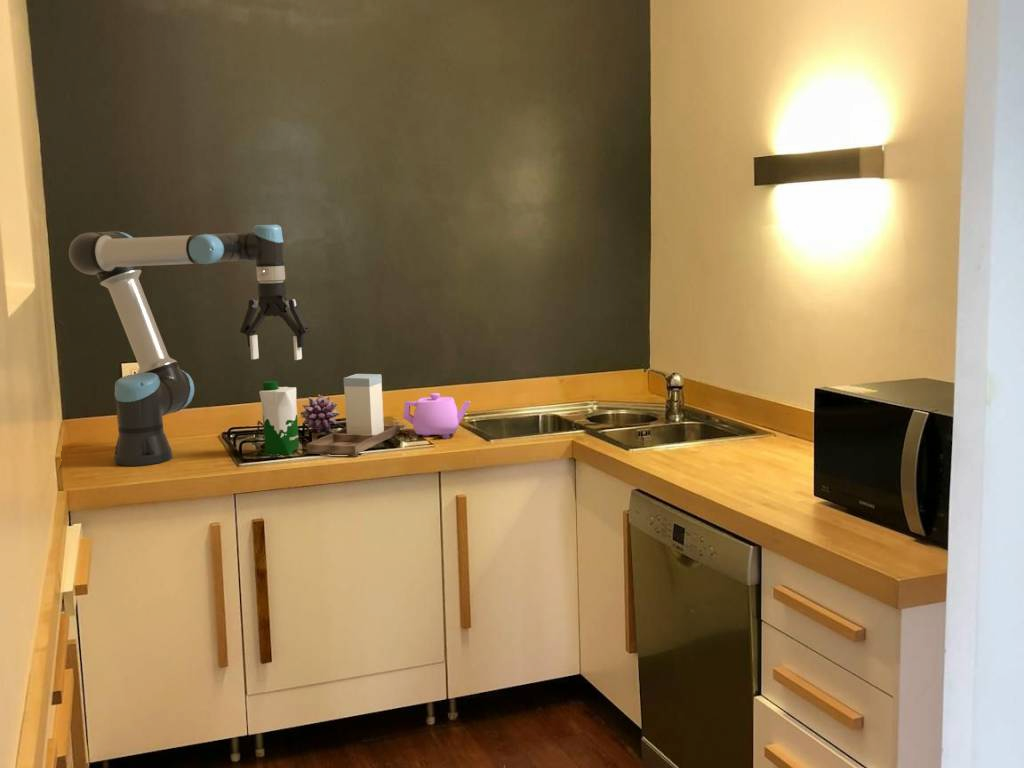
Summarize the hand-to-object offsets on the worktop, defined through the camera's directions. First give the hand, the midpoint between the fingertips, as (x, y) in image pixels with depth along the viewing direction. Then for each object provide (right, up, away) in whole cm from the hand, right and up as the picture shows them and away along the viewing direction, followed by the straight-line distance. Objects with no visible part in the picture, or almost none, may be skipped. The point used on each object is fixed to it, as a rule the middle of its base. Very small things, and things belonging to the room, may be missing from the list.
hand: (276, 359), depth 292 cm
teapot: (+43, -22, +20) cm, 53 cm away
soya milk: (+1, -26, +4) cm, 27 cm away
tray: (+20, -24, +11) cm, 33 cm away
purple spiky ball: (+7, -22, +29) cm, 37 cm away
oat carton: (+22, -22, +18) cm, 36 cm away
